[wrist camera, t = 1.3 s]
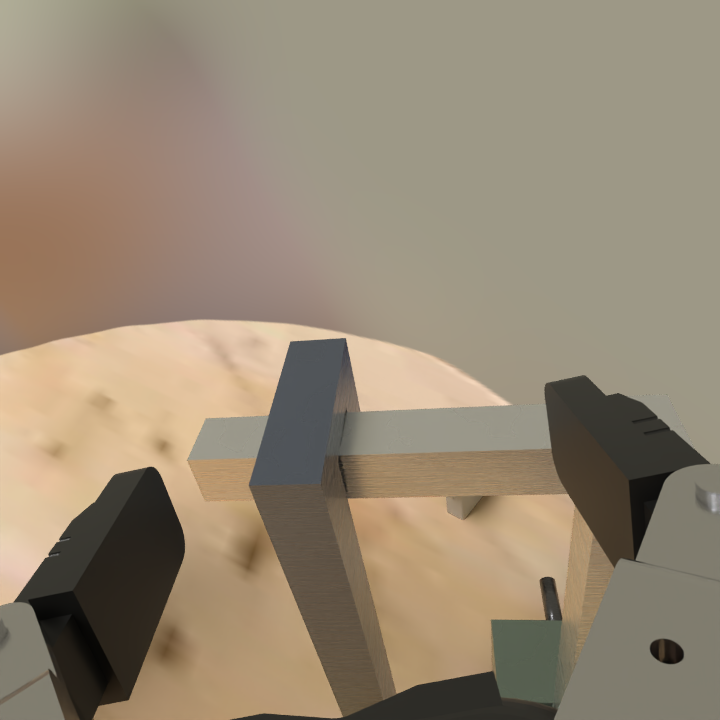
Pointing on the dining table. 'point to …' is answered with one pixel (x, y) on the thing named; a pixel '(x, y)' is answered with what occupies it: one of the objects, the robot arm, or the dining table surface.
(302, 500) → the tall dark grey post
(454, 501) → the lighter
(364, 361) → the dining table surface
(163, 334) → the dining table surface
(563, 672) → the grey tall bent post
